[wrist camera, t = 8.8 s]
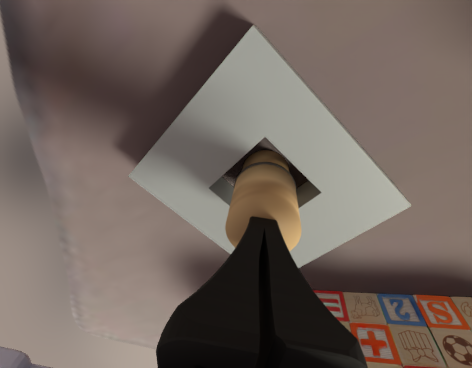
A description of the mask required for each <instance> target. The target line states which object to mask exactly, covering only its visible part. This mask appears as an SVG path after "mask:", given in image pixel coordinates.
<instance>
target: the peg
mask: <svg viewBox="0 0 472 368" xmlns="http://www.w3.org/2000/svg"><path fill="white" fill-rule="evenodd" d="M252 216H254V217H261V218H267V219H273V220H276V221H277V222H278V225H279V228H280V231H281V234H282V236H283V239H284V241H285V243H286V245H287V247H288V250H289V251H291V250H292V249H293V248H294V247H295V246H296V245H297V243H298V242H299V240H300V237H301V222H300V215H299V208H298V201H297V194H296V184H295V181H294V178H293V176H292V175H291V173H290V172H289V166H288V163H287V161H286V160H285V158H284V157H283V156H281V155H280V154H278V153H276V152H274V151H269V150H262V151H258V152H255V153H253V154H251V155H250V156H249V157H248V158H247V159H246V160H245V162H244V164H243V168H242V171H241V172H240V173H239V175H238V176H237V178H236V181H235V185H234V191H233V195H232V199H231V203H230V207H229V212H228V216H227V220H226V224H225V231H226V235H227V238H228V239H229V241H230V243H231V244H232V245H233V246H234V247H235V248H236V246H237V245H238V243H239V242H240V240H241V238H242V236H243V234H244V233H245V230H246V228H247V226H248V223H249V220H250V217H252Z"/></svg>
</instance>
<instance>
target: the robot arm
mask: <svg viewBox="0 0 472 368" xmlns="http://www.w3.org/2000/svg"><path fill="white" fill-rule="evenodd" d="M156 355H157V364H158V368H368V366H367V363H366V359H365V357H364V354H363V351H362V349H361V346H360V344H359V341H358V339H357V338H356V337H355V336H354V335H353V334H352V333H351V332H350V331H349V330H348V329H347V328H346V327H345V326H344V325H343V324H342V323H341V322H340V321H339V320H338V319H337V318H336V317H335V316H334V315H333V314H332V313H331V312H330V311H329V310H328V308H327V307H326V306H325V305H324V304H323V302H322V301H321V300H320V299H319V297H318V296H317V295H316V294H315V292H314V291H313V290H312V288H311V287H310V285H309V284H308V283H307V281H306V280H305V278H304V277H303V275H302V273H301V272H300V270H299V268H298V267H297V265H296V263H295V261H294V260H293V258H292V256H291V254H290V252H289V250H288V247H287V245H286V243H285V241H284V239H283V236H282V234H281V231H280V228H279V225H278V222H277V221H276V220H273V219H267V218H261V217H254V216H252V217H250V220H249V223H248V226H247V228H246V230H245V233H244V234H243V236H242V238H241V240H240V242H239V243H238V245H237V246H236V248H235V249H234V251H233V252H232V254H231V255H230V256H229V258H228V259H227V260H226V262H225V263H224V264H223V265H222V266H221V268H220V269H219V270H218V271H217V272H216V273H215V274H214V275H213V276H212V277H211V278H210V279H209V280H208V281H207V282H206V283H205V284H204V285H203V286H202V287H201V288H200V289H198V290H197V291H196V292H195V293H194V294H193V295H191V296H190V297H189V298H187V299H186V300H185V301H184V302H182V303H181V304H180V305H178V307H177V308H176V310H175V311H174V313H173V314H172V316H171V317H170V319H169V320H168V322H167V324H166V326H165V328H164V330H163V332H162V334H161V337H160V340H159V342H158V345H157V350H156ZM0 368H51V367H46V366H41V365H36V364H32V363H31V360H30V358H29V356H28V355H26V354H25V353H23V352H21V351H18V350H14V349H9V348H4V347H0Z"/></svg>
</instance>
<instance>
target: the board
mask: <svg viewBox="0 0 472 368" xmlns="http://www.w3.org/2000/svg"><path fill="white" fill-rule="evenodd" d="M264 137H266V138H267V139H268V140H269V141H270V142H271V143H272V144H273V145H274V146H275V147H276V148H277V149H278V150H279V151H280V152H281V153H282V154H283V155H284V156H285V157H286V158H287V159H288V160H289V161H290V162H291V163H292V164H293V165H294V166H295V167H296V168H297V169H298V170H299V171H300V172H301V173H302V174H303V175H304V176H305V177H306V178H307V179H308V181H307V182H305V183H304V184H303V185H301V186H300V187H299V188H297V189H296V194H297V201H298V208H299V215H300V222H301V237H300V240H299V242H298V243H297V245H296V246H295V247H294V248H293V249H292V250H291V251H289V252H290V254H291V256H292V258H293V260H294V261H295V263H296V265H297V267H298V268H300V267H302V266H303V265H305V264H307V263H309V262H311V261H312V260H314V259H316V258H318V257H320V256H322V255H323V254H325V253H327V252H329V251H331V250H332V249H334V248H336V247H338V246H340V245H341V244H343V243H345V242H347V241H349V240H351V239H352V238H354V237H356V236H358V235H360V234H361V233H363V232H365V231H367V230H369V229H371V228H372V227H374V226H376V225H378V224H380V223H381V222H383V221H385V220H387V219H389V218H390V217H392V216H394V215H396V214H398V213H400V212H401V211H403V210H405V209H407V208H409V207H410V206H412V205H411V204H410V203H409V202H408V200H407V199H406V198H405V197H404V195H403V194H402V193H401V191H400V190H399V189H398V188H397V186H396V185H395V184H394V183H393V182H392V181H391V179H390V178H389V177H388V176H387V175H386V174H385V173H384V171H383V170H382V169H381V168H380V167H379V166H378V165H377V163H376V162H375V161H374V160H373V159H372V158H371V157H370V155H369V154H368V153H367V152H366V151H365V150H364V149H363V147H362V146H361V145H360V144H359V143H358V142H357V141H356V139H355V138H354V137H353V136H352V135H351V134H350V133H349V131H348V130H347V129H346V128H345V127H344V126H343V125H342V123H341V122H340V121H339V120H338V119H337V118H336V117H335V115H334V114H333V113H332V112H331V111H330V110H329V109H328V107H327V106H326V105H325V104H324V103H323V102H322V101H321V99H320V98H319V97H318V96H317V95H316V94H315V93H314V91H313V90H312V89H311V88H310V87H309V86H308V85H307V83H306V82H305V81H304V80H303V79H302V78H301V77H300V76H299V74H298V73H297V72H296V71H295V70H294V69H293V68H292V66H291V65H290V64H289V63H288V62H287V61H286V60H285V58H284V57H283V56H282V55H281V54H280V53H279V52H278V50H277V49H276V48H275V47H274V46H273V45H272V44H271V42H270V41H269V40H268V39H267V38H266V37H265V36H264V34H263V33H262V32H261V31H260V30H259V29H258V28H257V26H255V25H253V26H252V27H251V28H250V29H249V31H248V32H247V33H246V34H245V35H244V37H243V38H242V39H241V40H240V41H239V43H238V44H237V45H236V46H235V48H234V49H233V50H232V51H231V52H230V54H229V55H228V56H227V57H226V58H225V60H224V61H223V62H222V63H221V64H220V66H219V67H218V68H217V69H216V71H215V72H214V73H213V74H212V75H211V77H210V78H209V79H208V80H207V81H206V83H205V84H204V85H203V86H202V88H201V89H200V90H199V91H198V92H197V94H196V95H195V96H194V97H193V98H192V100H191V101H190V102H189V103H188V104H187V106H186V107H185V108H184V109H183V111H182V112H181V113H180V114H179V115H178V117H177V118H176V119H175V120H174V121H173V123H172V124H171V125H170V126H169V128H168V129H167V130H166V131H165V132H164V134H163V135H162V136H161V137H160V138H159V140H158V141H157V142H156V143H155V144H154V146H153V147H152V148H151V149H150V151H149V152H148V153H147V154H146V155H145V157H144V158H143V159H142V160H141V161H140V163H139V164H138V165H137V166H136V168H135V169H134V170H133V171H132V172H131V174H130V175H129V176H128V177H130V178H131V179H132V180H134V181H135V182H136V183H138V184H139V185H140V186H142V187H143V188H144V189H145V190H147V191H148V192H149V193H151V194H152V195H153V196H155V197H156V198H157V199H159V200H160V201H161V202H163V203H164V204H165V205H166V206H168V207H169V208H170V209H172V210H173V211H174V212H176V213H177V214H178V215H180V216H181V217H182V218H184V219H185V220H186V221H187V222H189V223H190V224H191V225H193V226H194V227H195V228H197V229H198V230H199V231H201V232H202V233H203V234H204V235H206V236H207V237H208V238H210V239H211V240H212V241H214V242H215V243H216V244H218V245H219V246H220V247H222V248H223V249H224V250H225V251H227V252H228V253H229V254H232V252H233V251H234V249H235V247H234V246H233V245H232V244H231V243H230V241H229V239H228V238H227V235H226V231H225V224H226V220H227V216H228V212H229V207H230V203H231V199H232V195H233V191H234V187H233V186H232V185H230V184H229V183H228V182H227V181H226V180H225V179H223V178H222V177H221V176H222V175H223V174H225V173H226V172H227V171H228V170H229V169H230V168H231V167H232V166H233V165H234V164H236V163H237V162H238V161H239V160H240V159H241V158H242V157H243V156H244V155H245V154H246V153H248V152H249V151H250V150H251V149H252V148H253V147H254V146H255V145H256V144H257V143H259V142H260V141H261V140H262V139H263V138H264Z"/></svg>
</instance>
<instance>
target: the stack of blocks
mask: <svg viewBox="0 0 472 368" xmlns="http://www.w3.org/2000/svg"><path fill="white" fill-rule="evenodd" d="M313 291H314V292H315V294H316V295H317V296H318V297H319V299H320V300H321V301H322V302H323V304H324V305H325V306H326V307H327V308H328V310H329V311H330V312H331V313H332V314H333V315H334V316H335V317H336V318H337V319H338V320H339V321H340V322H341V323H342V324H343V325H344V326H345V327H346V328H347V329H348V330H349V331H350V332H351V333H352V334H353V335H354V336H355V337H356V338H357V339H358V341H359V344H360V346H361V349H362V351H363V354H364V357H365V359H366V363H367V366H368V368H472V297H447V296H431V295H402V294H380V293H379V294H374V293H352V292H341V291H320V290H313Z"/></svg>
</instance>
